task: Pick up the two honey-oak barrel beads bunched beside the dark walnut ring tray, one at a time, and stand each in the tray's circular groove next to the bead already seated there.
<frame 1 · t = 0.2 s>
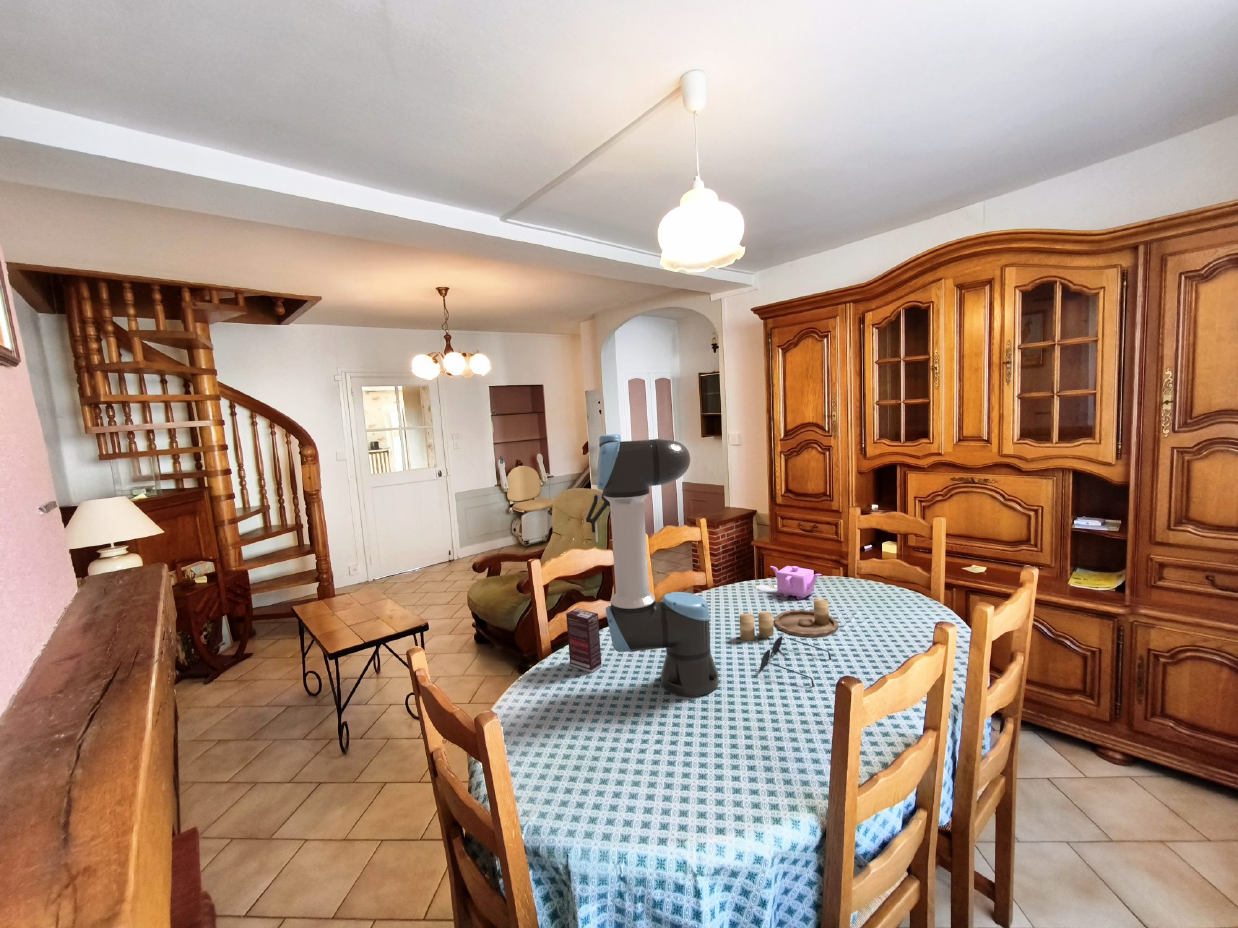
hand: (616, 539, 185), 28 cm above the table, fingers open, 13 cm apart
bead a: (766, 635, 165), on the table
sunglasses: (795, 668, 145), on the table
bead b: (747, 637, 164), on the table
bead seated: (821, 622, 170), point 1 cm above the table, touching tray
teapot: (795, 595, 198), on the table
supplement box: (585, 666, 153), on the table
tray: (805, 626, 170), on the table
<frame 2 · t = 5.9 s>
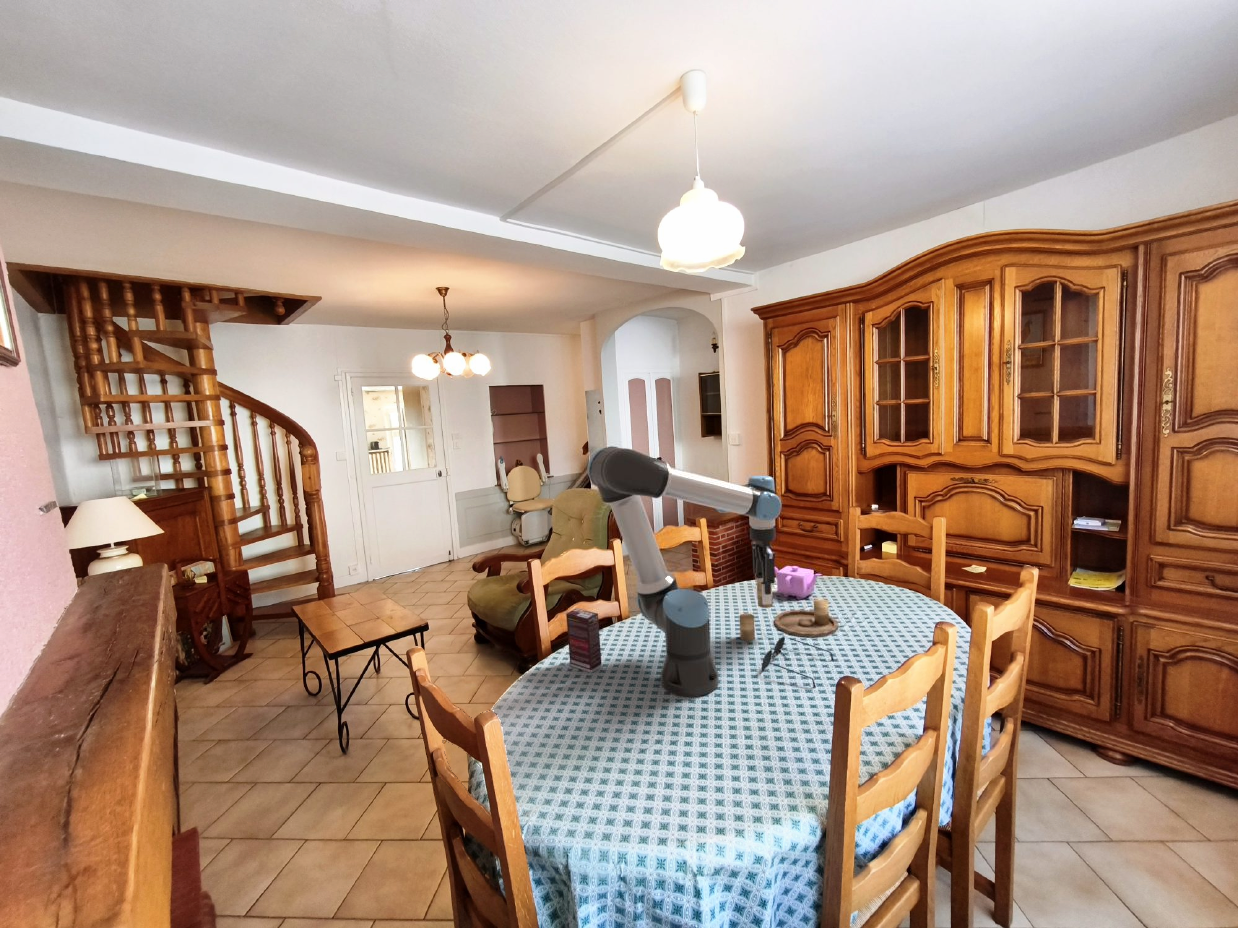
hand: (764, 601, 164), 11 cm above the table, fingers closed on bead a, 4 cm apart
bead a: (765, 605, 164), point 10 cm above the table, touching gripper
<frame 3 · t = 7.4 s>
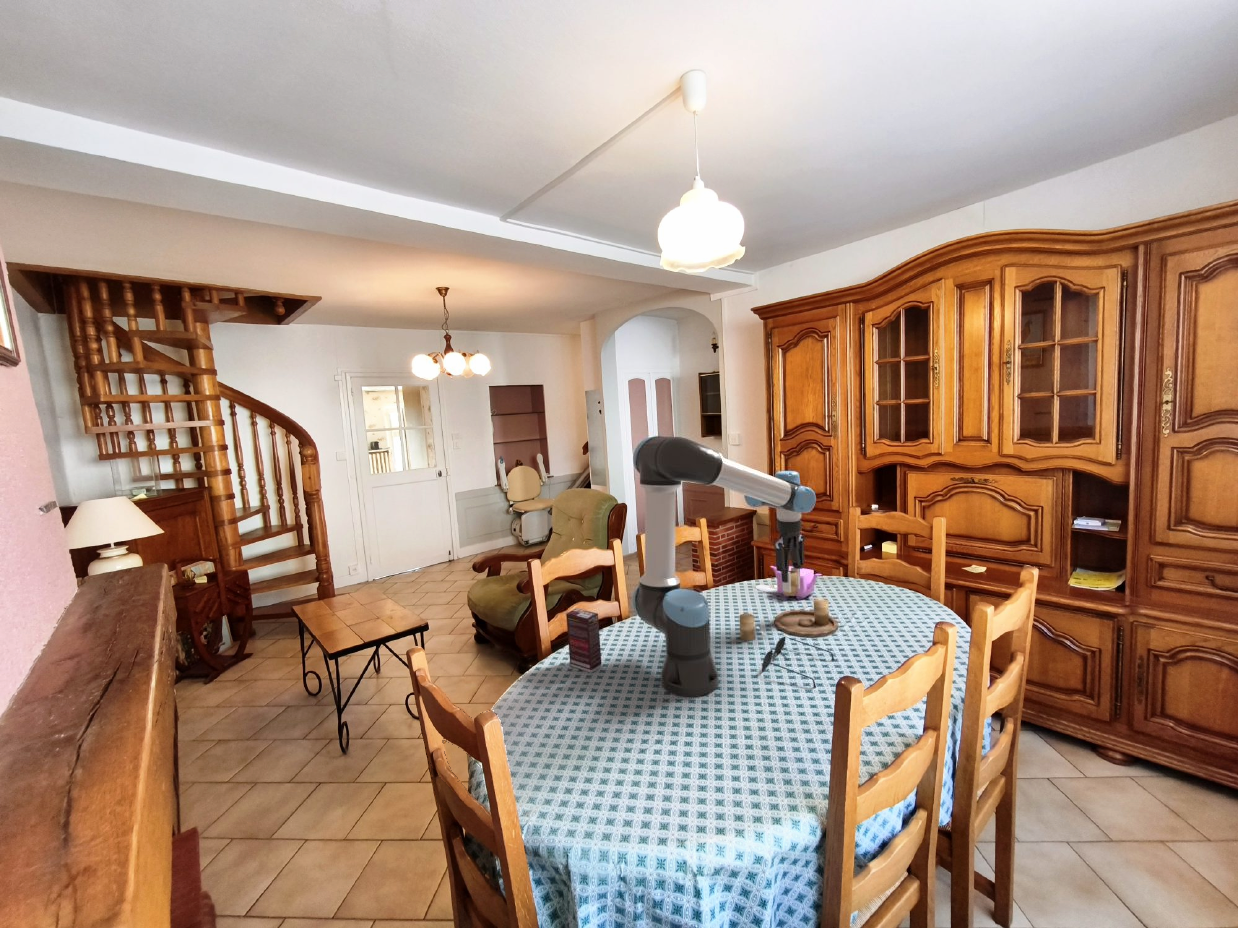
hand: (791, 589, 173), 11 cm above the table, fingers closed on bead a, 4 cm apart
bead a: (790, 593, 173), point 10 cm above the table, touching gripper
everything else where it was.
when the fingers open (1 cm above the table, at t = 9.2 s): bead a stays where it is, resting on tray.
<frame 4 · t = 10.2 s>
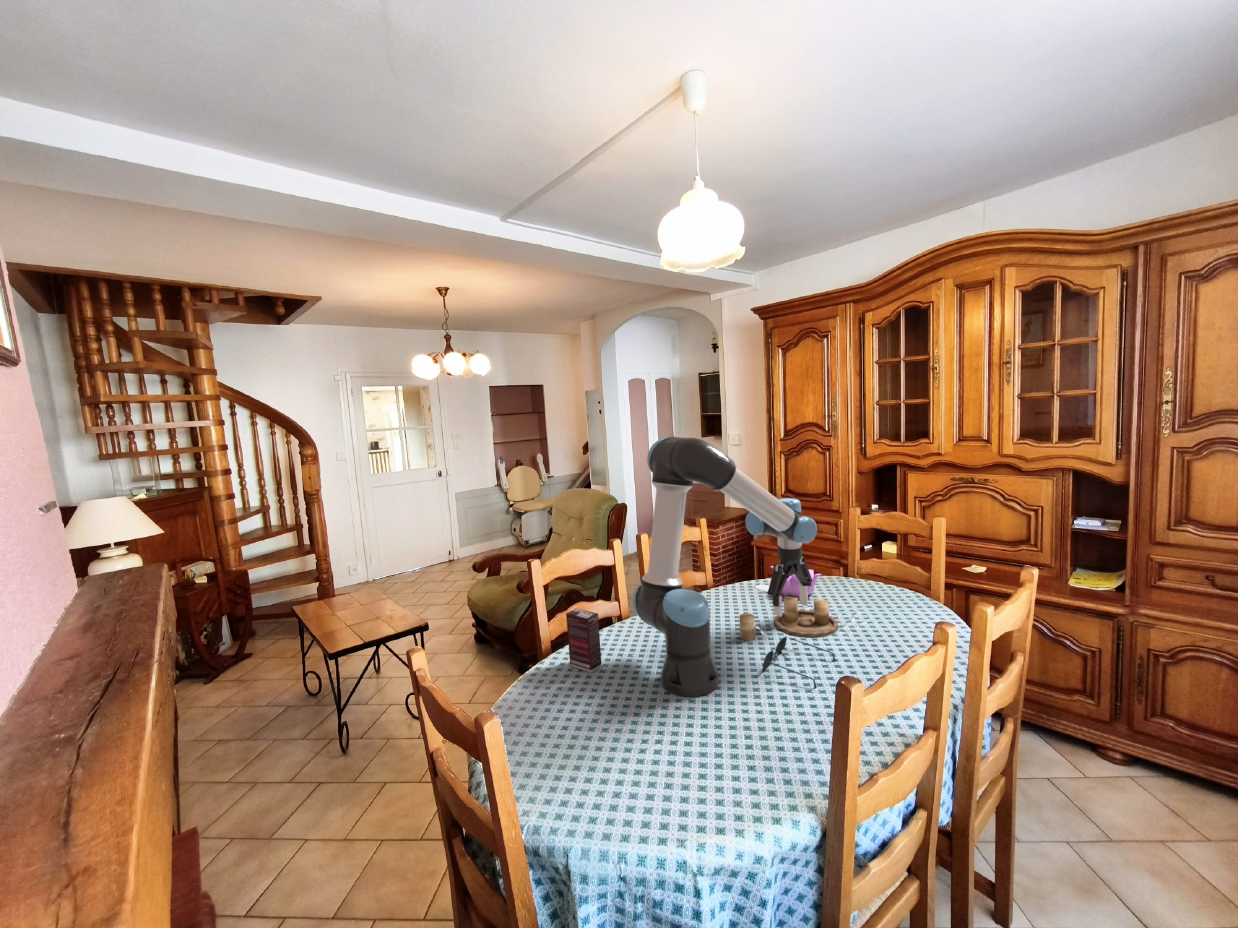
hand: (791, 610, 173), 4 cm above the table, fingers open, 13 cm apart
bead a: (791, 619, 174), point 1 cm above the table, touching tray
everything else where it was.
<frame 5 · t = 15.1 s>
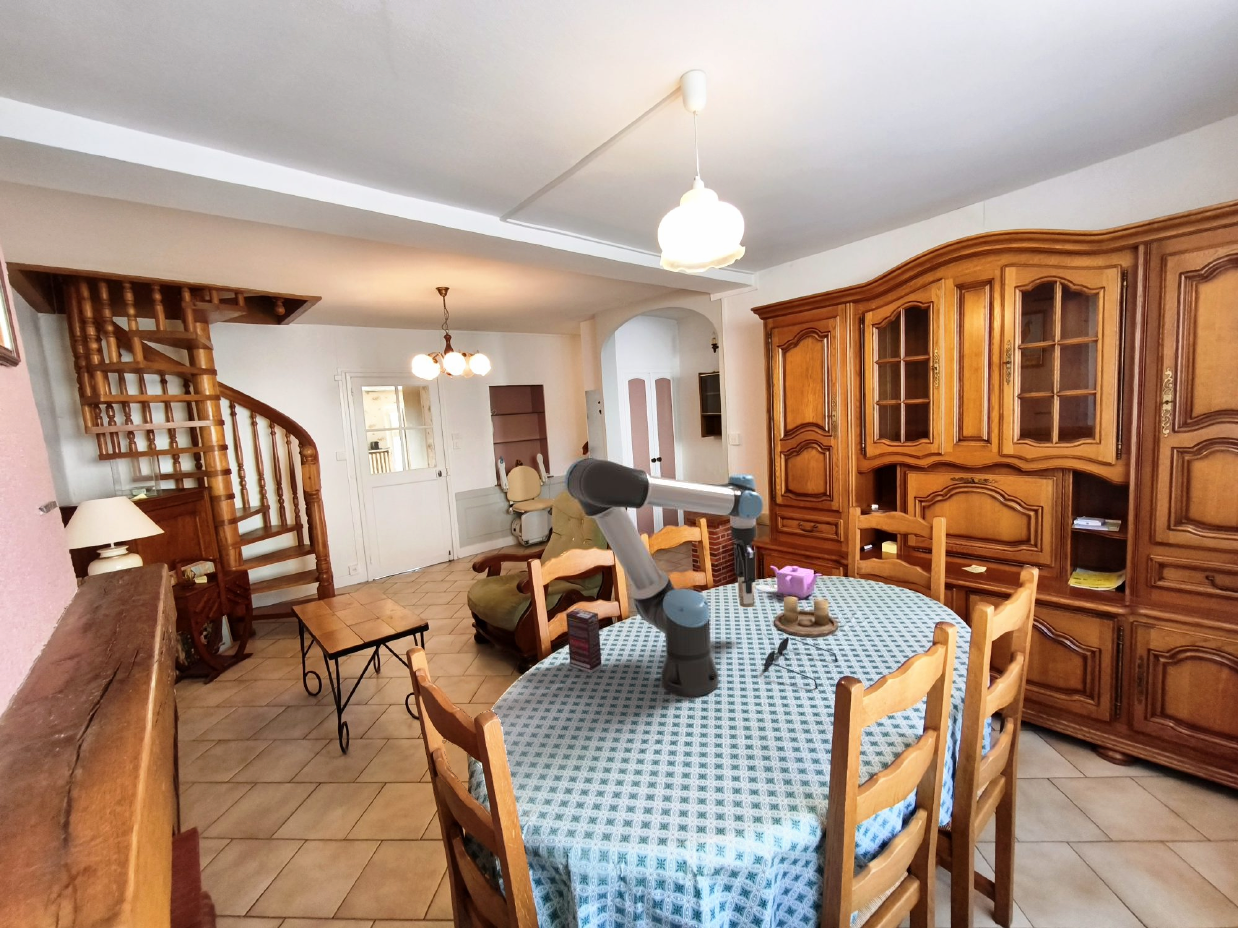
hand: (745, 600, 163), 12 cm above the table, fingers closed on bead b, 4 cm apart
bead b: (746, 604, 163), point 11 cm above the table, touching gripper
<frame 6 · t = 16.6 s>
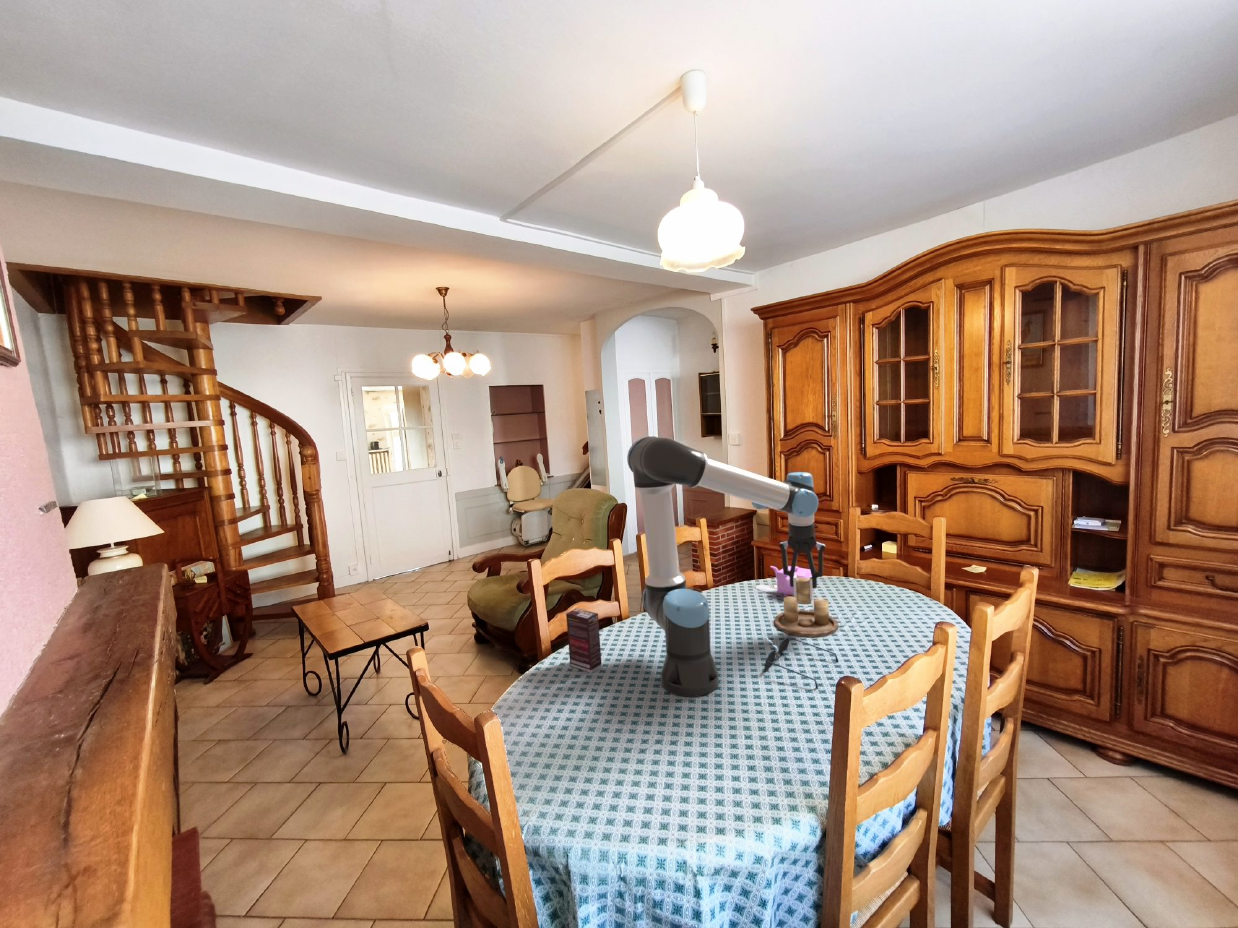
hand: (803, 597, 164), 12 cm above the table, fingers closed on bead b, 4 cm apart
bead b: (803, 601, 164), point 10 cm above the table, touching gripper
when the fingers open (1 cm above the table, at t = 18.5 s): bead b stays where it is, resting on tray.
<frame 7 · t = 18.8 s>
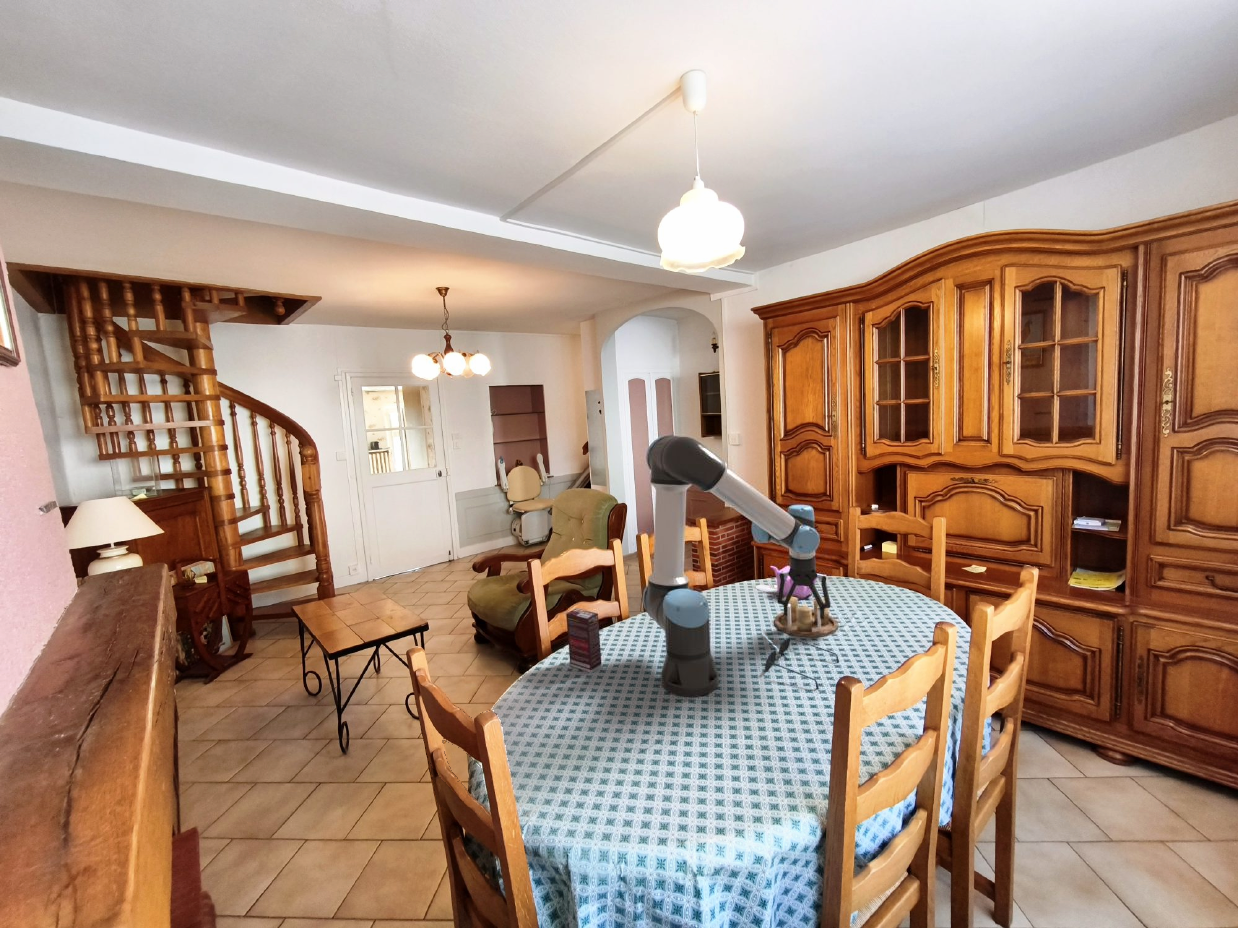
hand: (804, 626, 165), 2 cm above the table, fingers open, 8 cm apart
bead b: (804, 630, 165), point 1 cm above the table, touching tray
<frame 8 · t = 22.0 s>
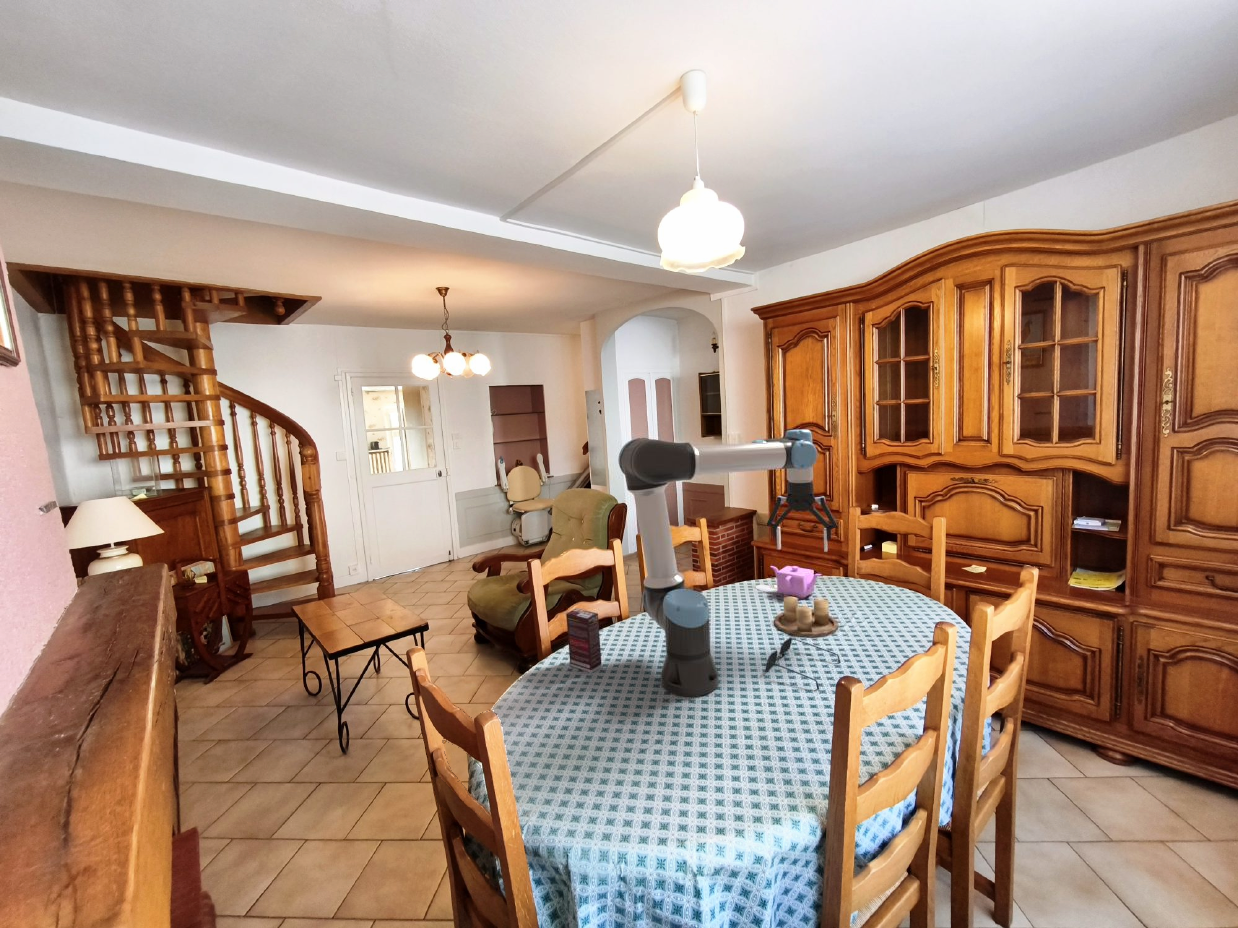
hand: (802, 549, 162), 27 cm above the table, fingers open, 13 cm apart
at the end: bead a 0.2 cm from the target spot on the tray, point 0.8 cm above the tray's base; bead b 0.2 cm from the target spot on the tray, point 0.8 cm above the tray's base; bead b tilted 0° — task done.
